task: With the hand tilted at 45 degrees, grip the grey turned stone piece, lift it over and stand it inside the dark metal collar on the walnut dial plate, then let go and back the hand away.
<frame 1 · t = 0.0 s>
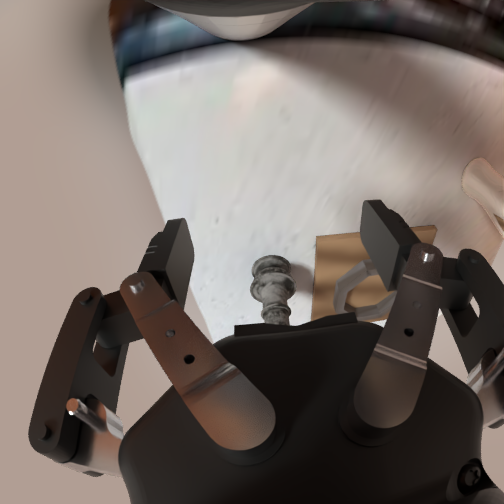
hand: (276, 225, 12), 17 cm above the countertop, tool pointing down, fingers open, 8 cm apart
grey turned stone piece: (271, 268, 38), on the countertop
socket plate: (369, 282, 41), on the countertop
beer glass: (474, 175, 28), on the countertop
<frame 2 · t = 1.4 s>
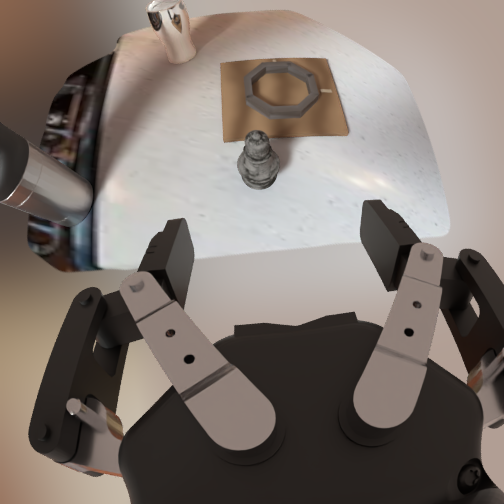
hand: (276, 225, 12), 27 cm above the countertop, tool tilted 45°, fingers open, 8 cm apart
grey turned stone piece: (259, 173, 41), on the countertop
socket plate: (280, 95, 43), on the countertop
beer glass: (182, 55, 46), on the countertop
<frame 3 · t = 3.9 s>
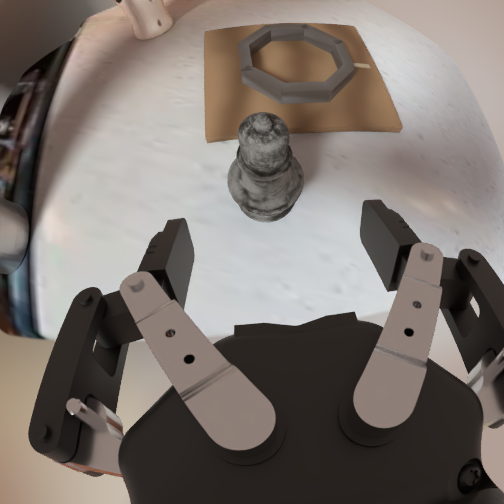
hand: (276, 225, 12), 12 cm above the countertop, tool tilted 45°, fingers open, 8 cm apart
grey turned stone piece: (266, 194, 25), on the countertop
socket plate: (294, 70, 27), on the countertop
beer glass: (154, 29, 30), on the countertop
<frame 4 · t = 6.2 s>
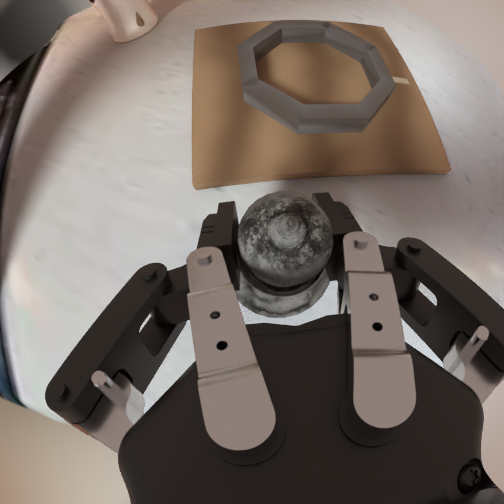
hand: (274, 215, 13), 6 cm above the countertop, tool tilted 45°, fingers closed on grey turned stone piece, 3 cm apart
grey turned stone piece: (276, 268, 18), on the countertop, touching gripper
socket plate: (313, 83, 20), on the countertop
beer glass: (136, 29, 24), on the countertop
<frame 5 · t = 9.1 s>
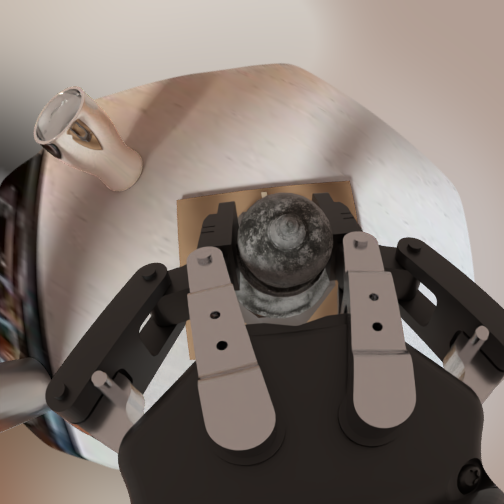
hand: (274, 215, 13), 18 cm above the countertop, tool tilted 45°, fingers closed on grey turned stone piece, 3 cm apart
grey turned stone piece: (276, 268, 18), point 12 cm above the countertop, touching gripper
socket plate: (273, 269, 31), on the countertop
beer glass: (123, 171, 34), on the countertop
when the fingers open (8 cm above the countertop, at t = 11.9 s): grey turned stone piece drops 1 cm, resting on socket plate.
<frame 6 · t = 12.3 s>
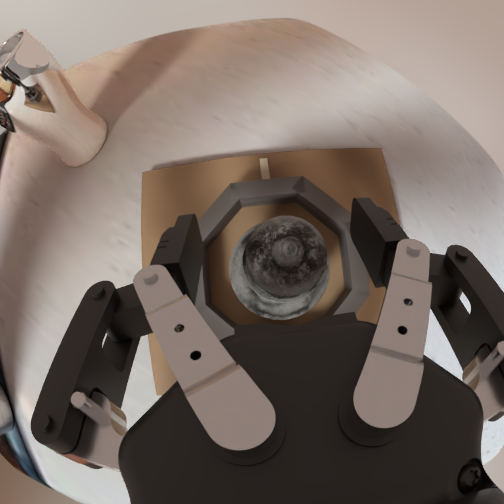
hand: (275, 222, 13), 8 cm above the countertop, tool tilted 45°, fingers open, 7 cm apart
grey turned stone piece: (278, 272, 20), point 1 cm above the countertop, touching socket plate
socket plate: (275, 270, 21), on the countertop
beer glass: (85, 142, 24), on the countertop
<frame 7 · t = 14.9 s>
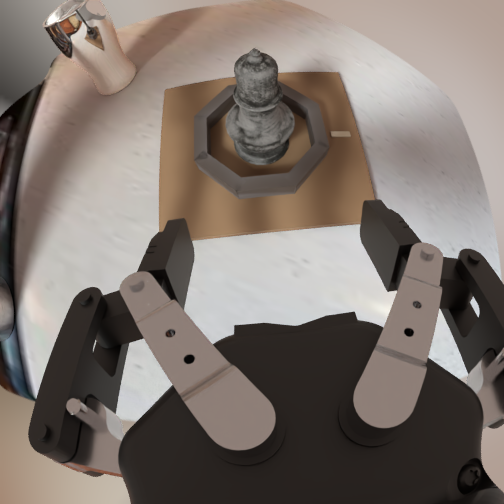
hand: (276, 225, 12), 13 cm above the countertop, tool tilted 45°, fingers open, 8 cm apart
grey turned stone piece: (261, 142, 26), point 1 cm above the countertop, touching socket plate
socket plate: (260, 144, 26), on the countertop
beer glass: (117, 79, 30), on the countertop
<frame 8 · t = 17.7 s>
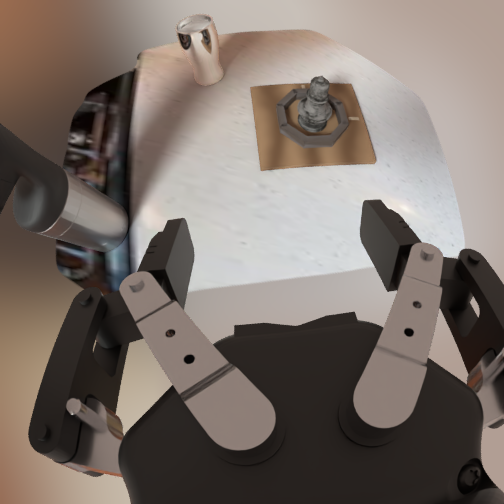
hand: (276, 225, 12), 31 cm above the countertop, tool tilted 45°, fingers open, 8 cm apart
grey turned stone piece: (312, 120, 45), point 1 cm above the countertop, touching socket plate
socket plate: (310, 122, 46), on the countertop
beer glass: (209, 76, 49), on the countertop
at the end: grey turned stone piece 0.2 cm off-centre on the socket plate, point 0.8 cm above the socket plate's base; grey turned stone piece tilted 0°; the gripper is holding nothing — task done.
